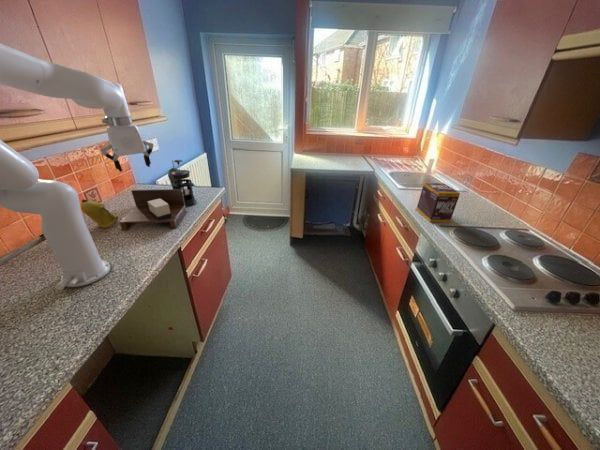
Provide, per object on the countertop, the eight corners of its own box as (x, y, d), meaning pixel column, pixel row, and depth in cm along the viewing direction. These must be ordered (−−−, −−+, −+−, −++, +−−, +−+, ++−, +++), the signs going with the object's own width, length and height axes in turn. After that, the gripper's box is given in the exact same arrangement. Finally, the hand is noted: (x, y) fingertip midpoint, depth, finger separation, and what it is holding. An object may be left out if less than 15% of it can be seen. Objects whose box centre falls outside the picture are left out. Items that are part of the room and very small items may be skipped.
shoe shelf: (176, 228, 109) (170, 203, 104) (122, 230, 106) (112, 204, 101) (186, 211, 124) (181, 189, 118) (139, 213, 121) (132, 189, 116)
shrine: (105, 234, 103) (92, 200, 96) (86, 232, 104) (71, 199, 96) (124, 221, 113) (113, 190, 106) (107, 220, 114) (95, 189, 106)
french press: (184, 198, 139) (175, 157, 128) (199, 200, 137) (192, 158, 126) (171, 207, 128) (160, 162, 117) (187, 208, 127) (178, 164, 116)
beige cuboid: (171, 216, 110) (168, 204, 107) (159, 220, 107) (155, 207, 104) (160, 208, 117) (157, 196, 114) (148, 211, 114) (145, 199, 111)
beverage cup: (183, 191, 148) (177, 157, 138) (187, 195, 143) (181, 160, 133) (170, 194, 144) (162, 159, 134) (174, 198, 139) (166, 162, 129)
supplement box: (429, 222, 122) (439, 192, 114) (415, 209, 135) (423, 182, 128) (450, 222, 122) (461, 193, 115) (434, 209, 136) (443, 182, 128)
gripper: (92, 125, 82) (110, 175, 90) (149, 121, 92) (161, 166, 101) (88, 122, 86) (106, 170, 95) (143, 118, 97) (155, 162, 105)
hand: (134, 168), depth 98 cm, fingers open, 9 cm apart
